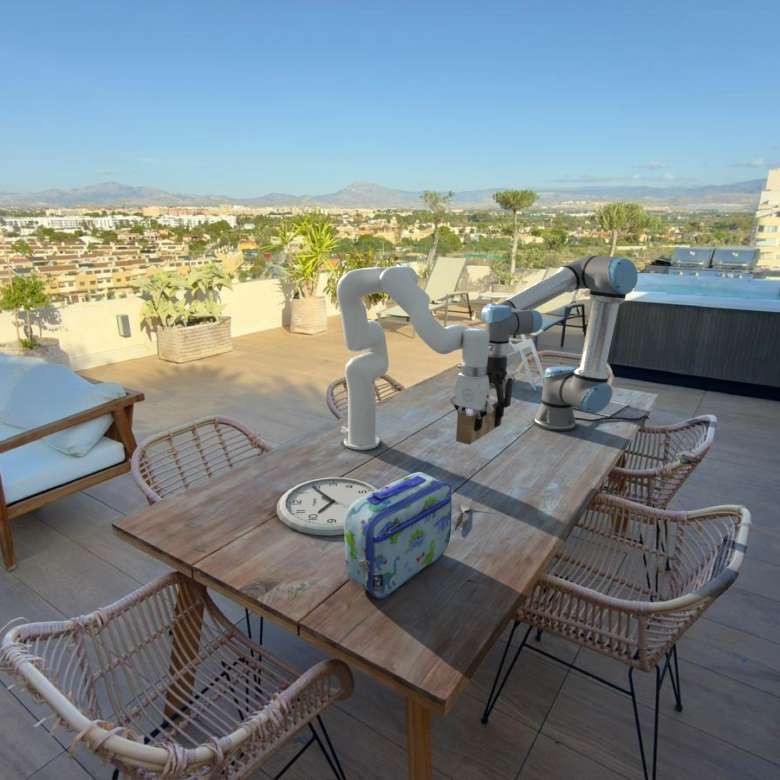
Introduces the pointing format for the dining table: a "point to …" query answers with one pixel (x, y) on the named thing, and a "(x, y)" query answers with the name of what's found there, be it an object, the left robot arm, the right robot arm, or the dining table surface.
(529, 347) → the white plastic object
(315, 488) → the wall clock
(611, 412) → the invitation card
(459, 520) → the fork
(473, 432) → the bar
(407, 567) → the lunch box
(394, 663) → the dining table surface
